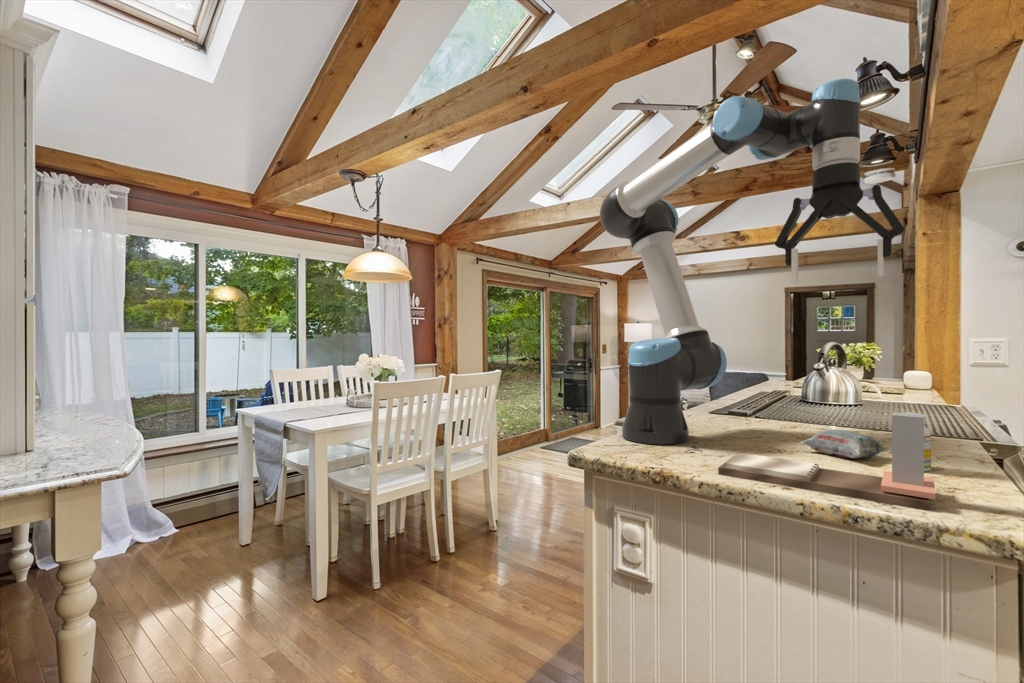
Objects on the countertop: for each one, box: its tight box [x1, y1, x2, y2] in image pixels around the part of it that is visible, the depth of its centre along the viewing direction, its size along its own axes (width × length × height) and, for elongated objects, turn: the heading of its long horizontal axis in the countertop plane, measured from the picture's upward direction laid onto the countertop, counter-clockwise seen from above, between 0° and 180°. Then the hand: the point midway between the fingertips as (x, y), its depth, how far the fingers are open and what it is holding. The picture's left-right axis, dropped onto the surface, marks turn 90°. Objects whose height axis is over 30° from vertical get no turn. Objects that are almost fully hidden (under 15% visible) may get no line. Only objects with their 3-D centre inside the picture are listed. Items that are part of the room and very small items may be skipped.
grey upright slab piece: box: [881, 412, 936, 500], centre depth 72 cm, size 6×9×11 cm, turn 140°
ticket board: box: [717, 452, 930, 511], centre depth 79 cm, size 28×10×2 cm, turn 50°
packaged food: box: [799, 429, 888, 459], centre depth 96 cm, size 9×12×5 cm
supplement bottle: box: [907, 412, 932, 473], centre depth 86 cm, size 5×5×10 cm
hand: (835, 279), depth 92 cm, fingers open, 13 cm apart
